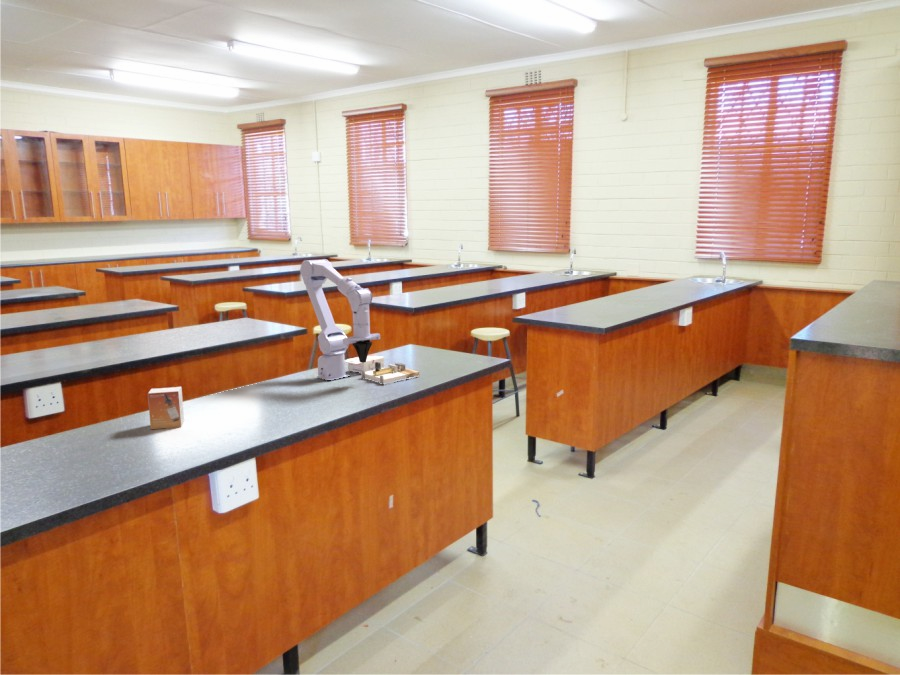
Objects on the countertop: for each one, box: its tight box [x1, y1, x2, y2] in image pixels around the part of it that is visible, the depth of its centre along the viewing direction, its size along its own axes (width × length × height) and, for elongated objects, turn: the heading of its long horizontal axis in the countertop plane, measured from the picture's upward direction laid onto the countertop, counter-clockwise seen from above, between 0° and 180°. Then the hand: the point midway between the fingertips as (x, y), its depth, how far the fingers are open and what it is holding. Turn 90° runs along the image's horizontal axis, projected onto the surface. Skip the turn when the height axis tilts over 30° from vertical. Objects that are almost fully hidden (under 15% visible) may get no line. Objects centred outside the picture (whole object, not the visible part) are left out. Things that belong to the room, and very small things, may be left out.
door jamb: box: [385, 362, 420, 378], centre depth 224 cm, size 5×14×4 cm, turn 43°
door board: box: [360, 363, 407, 384], centre depth 218 cm, size 11×14×4 cm
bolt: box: [373, 362, 394, 375], centre depth 218 cm, size 8×2×4 cm, turn 133°
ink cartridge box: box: [345, 354, 385, 373], centre depth 231 cm, size 9×5×15 cm
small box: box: [147, 386, 185, 430], centre depth 168 cm, size 8×6×10 cm
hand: (362, 361), depth 212 cm, fingers closed
